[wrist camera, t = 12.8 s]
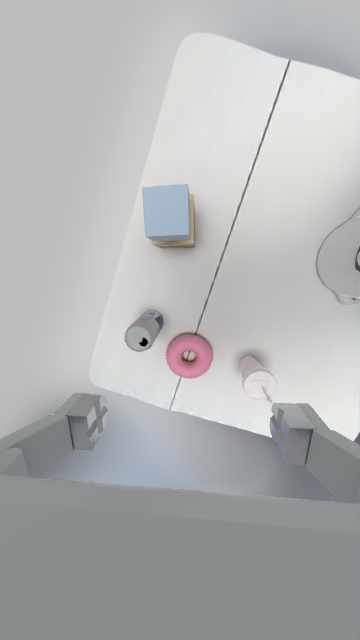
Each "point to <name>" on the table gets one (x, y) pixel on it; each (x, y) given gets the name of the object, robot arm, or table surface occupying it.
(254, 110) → the table surface
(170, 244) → the tower top
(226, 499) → the robot arm
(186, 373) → the doughnut
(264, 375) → the smoothie
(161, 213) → the blue block
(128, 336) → the energy drink
